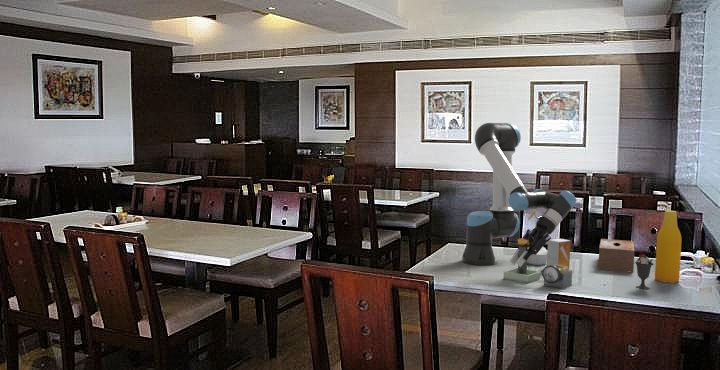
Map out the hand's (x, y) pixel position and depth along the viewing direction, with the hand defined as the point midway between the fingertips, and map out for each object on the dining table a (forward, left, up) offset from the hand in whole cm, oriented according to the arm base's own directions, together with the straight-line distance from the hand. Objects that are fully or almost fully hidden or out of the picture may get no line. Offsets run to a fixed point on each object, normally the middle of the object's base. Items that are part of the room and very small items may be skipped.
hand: (515, 263), depth 257 cm
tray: (+2, +3, -7) cm, 8 cm away
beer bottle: (+46, +44, -7) cm, 64 cm away
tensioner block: (+17, +2, -7) cm, 18 cm away
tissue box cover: (+20, +59, -7) cm, 63 cm away
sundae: (+43, +23, -7) cm, 50 cm away
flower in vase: (-16, +51, -7) cm, 54 cm away
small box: (+4, +32, -7) cm, 33 cm away
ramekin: (-9, +37, -7) cm, 39 cm away
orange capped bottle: (+2, +3, -4) cm, 6 cm away
